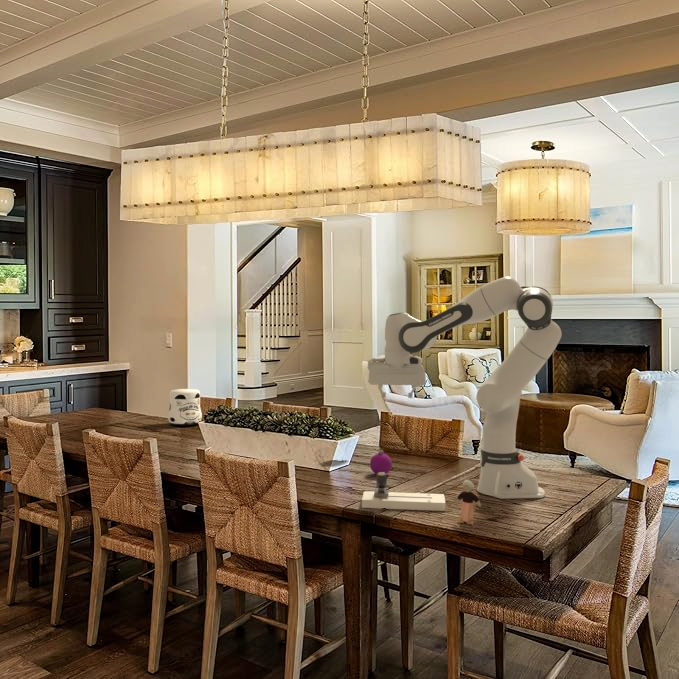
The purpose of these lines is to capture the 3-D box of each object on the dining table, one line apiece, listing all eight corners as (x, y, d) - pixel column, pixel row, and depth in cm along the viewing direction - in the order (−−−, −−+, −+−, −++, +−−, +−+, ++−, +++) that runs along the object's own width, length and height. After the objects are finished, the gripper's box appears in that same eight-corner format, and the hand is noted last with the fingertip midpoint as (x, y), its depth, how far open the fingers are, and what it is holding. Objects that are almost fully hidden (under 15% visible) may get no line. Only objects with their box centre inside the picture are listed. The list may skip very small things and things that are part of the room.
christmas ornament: (374, 471, 265) (375, 445, 264) (394, 473, 261) (395, 447, 261) (366, 475, 257) (366, 449, 257) (387, 478, 254) (387, 451, 253)
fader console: (443, 501, 224) (444, 493, 224) (445, 510, 214) (445, 502, 214) (363, 498, 227) (364, 491, 227) (361, 507, 217) (361, 499, 217)
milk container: (189, 428, 352) (189, 393, 351) (161, 426, 358) (161, 391, 357) (208, 423, 368) (208, 389, 367) (180, 421, 374) (180, 387, 373)
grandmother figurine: (453, 523, 202) (454, 480, 202) (456, 519, 206) (456, 477, 205) (479, 526, 200) (480, 483, 199) (482, 522, 203) (482, 479, 203)
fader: (388, 493, 223) (388, 471, 223) (388, 497, 219) (388, 474, 219) (374, 492, 224) (375, 471, 223) (374, 496, 219) (374, 474, 219)
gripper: (367, 359, 241) (366, 398, 242) (426, 359, 239) (425, 399, 240) (368, 357, 248) (368, 396, 248) (425, 358, 246) (425, 396, 246)
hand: (396, 397), depth 244 cm, fingers open, 8 cm apart
